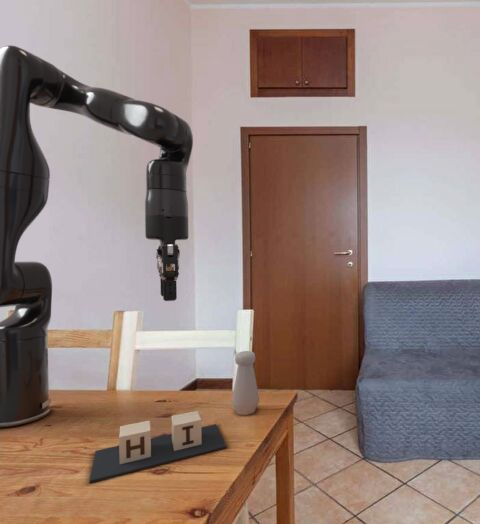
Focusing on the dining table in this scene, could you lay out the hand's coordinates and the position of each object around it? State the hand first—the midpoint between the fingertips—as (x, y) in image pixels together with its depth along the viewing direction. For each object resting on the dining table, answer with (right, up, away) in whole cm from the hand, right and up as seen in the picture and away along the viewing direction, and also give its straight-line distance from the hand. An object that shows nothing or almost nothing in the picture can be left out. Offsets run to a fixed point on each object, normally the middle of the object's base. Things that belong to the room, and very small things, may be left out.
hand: (168, 298), depth 73 cm
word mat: (+2, -26, -7) cm, 27 cm away
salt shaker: (+13, -26, +9) cm, 30 cm away
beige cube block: (+6, -26, -5) cm, 27 cm away
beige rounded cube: (-1, -26, -9) cm, 27 cm away
